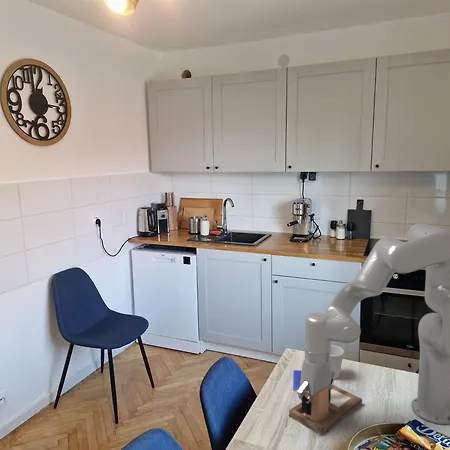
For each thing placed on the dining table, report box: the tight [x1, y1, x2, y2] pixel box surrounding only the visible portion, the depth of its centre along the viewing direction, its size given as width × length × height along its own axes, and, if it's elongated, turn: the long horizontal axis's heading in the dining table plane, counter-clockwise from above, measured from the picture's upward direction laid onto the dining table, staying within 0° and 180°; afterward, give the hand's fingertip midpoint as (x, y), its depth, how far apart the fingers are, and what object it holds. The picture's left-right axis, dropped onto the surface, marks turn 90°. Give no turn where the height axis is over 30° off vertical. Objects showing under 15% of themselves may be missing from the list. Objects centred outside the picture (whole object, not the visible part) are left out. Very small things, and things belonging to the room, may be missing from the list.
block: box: [304, 387, 329, 424], centre depth 122 cm, size 5×5×10 cm
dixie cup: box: [330, 344, 345, 380], centre depth 145 cm, size 8×8×10 cm
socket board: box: [288, 384, 363, 436], centre depth 126 cm, size 12×22×2 cm, turn 131°
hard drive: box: [292, 369, 302, 392], centre depth 142 cm, size 2×8×12 cm
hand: (316, 406), depth 122 cm, fingers open, 9 cm apart
